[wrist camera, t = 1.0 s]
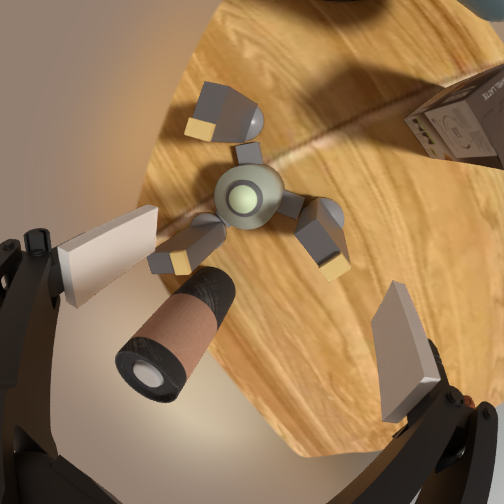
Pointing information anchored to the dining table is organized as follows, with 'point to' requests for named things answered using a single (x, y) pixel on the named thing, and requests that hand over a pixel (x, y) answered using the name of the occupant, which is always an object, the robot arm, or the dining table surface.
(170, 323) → the travel mug
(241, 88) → the dining table surface
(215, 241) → the grey post tan tip
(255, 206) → the tribrach hub
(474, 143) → the coffee box
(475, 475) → the robot arm
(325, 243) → the grey block tan end
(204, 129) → the dark grey upright block
